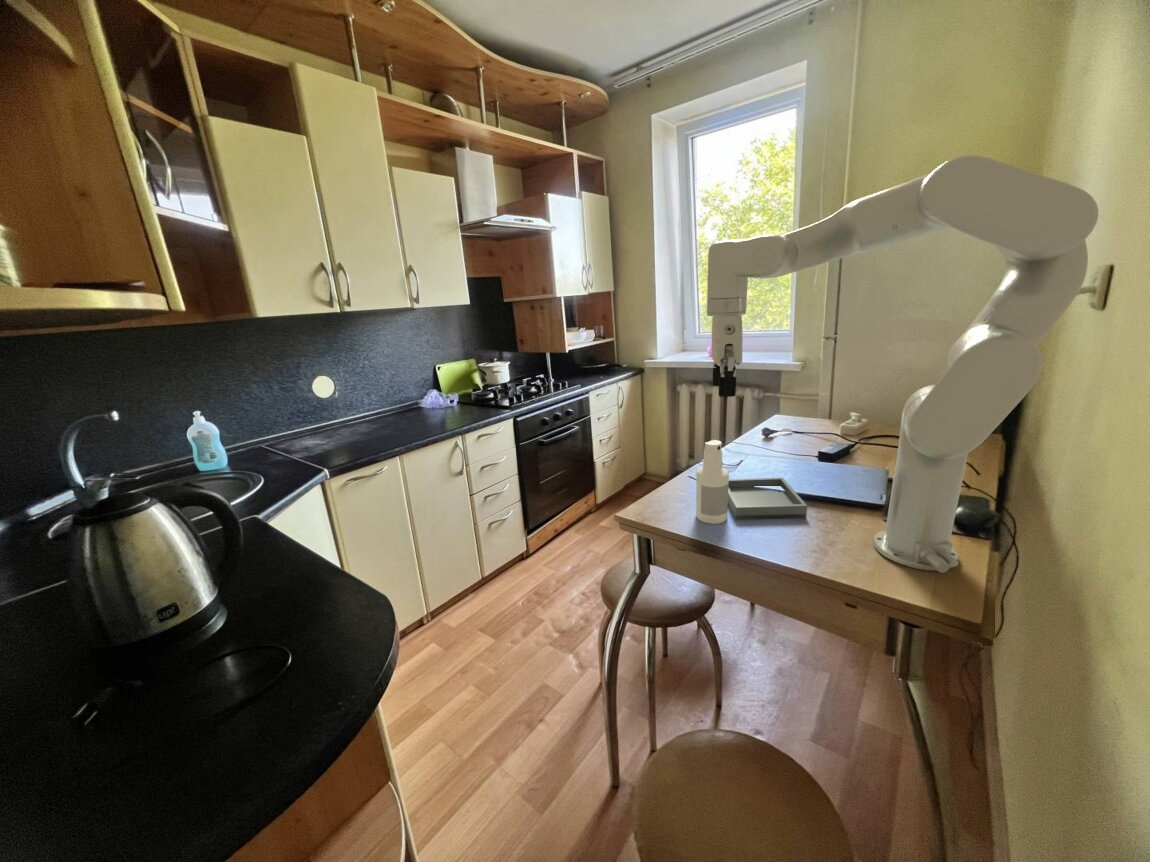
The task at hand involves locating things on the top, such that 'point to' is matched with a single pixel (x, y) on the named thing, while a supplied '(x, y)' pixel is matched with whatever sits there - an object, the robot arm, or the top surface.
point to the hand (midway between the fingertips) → (723, 390)
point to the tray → (764, 500)
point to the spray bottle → (712, 486)
